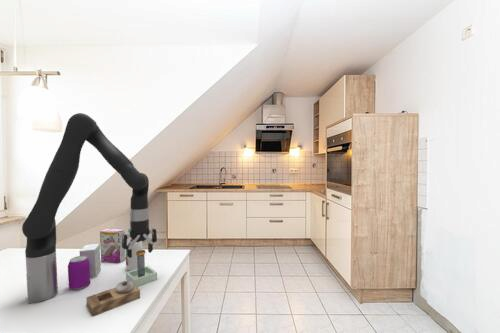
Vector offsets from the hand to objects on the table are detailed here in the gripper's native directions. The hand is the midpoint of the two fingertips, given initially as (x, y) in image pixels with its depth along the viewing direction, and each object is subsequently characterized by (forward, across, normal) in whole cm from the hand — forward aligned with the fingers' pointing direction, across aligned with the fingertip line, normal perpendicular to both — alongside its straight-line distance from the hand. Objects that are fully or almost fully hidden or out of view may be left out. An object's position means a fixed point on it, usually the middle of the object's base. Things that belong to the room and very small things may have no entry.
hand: (140, 254), depth 112 cm
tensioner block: (+12, +14, +10) cm, 20 cm away
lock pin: (+11, 0, 0) cm, 11 cm away
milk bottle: (+12, -2, -14) cm, 18 cm away
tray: (+11, 0, 0) cm, 11 cm away
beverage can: (+12, +21, -13) cm, 27 cm away
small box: (+12, +15, -22) cm, 29 cm away
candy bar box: (+12, +3, -31) cm, 33 cm away
